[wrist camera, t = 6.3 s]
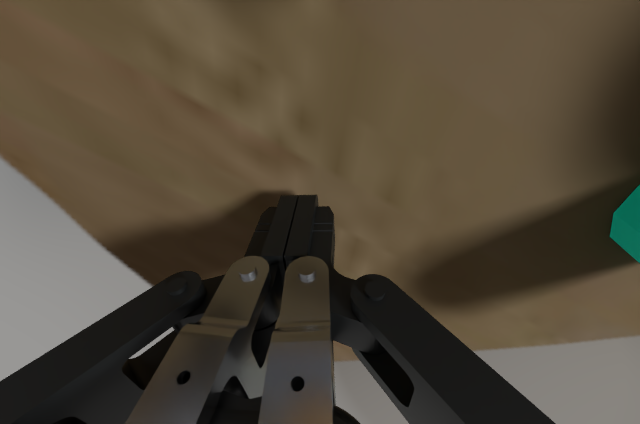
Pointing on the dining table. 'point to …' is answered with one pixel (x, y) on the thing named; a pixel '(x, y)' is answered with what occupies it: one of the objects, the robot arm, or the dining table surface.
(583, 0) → the dining table surface
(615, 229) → the candle
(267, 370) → the robot arm
